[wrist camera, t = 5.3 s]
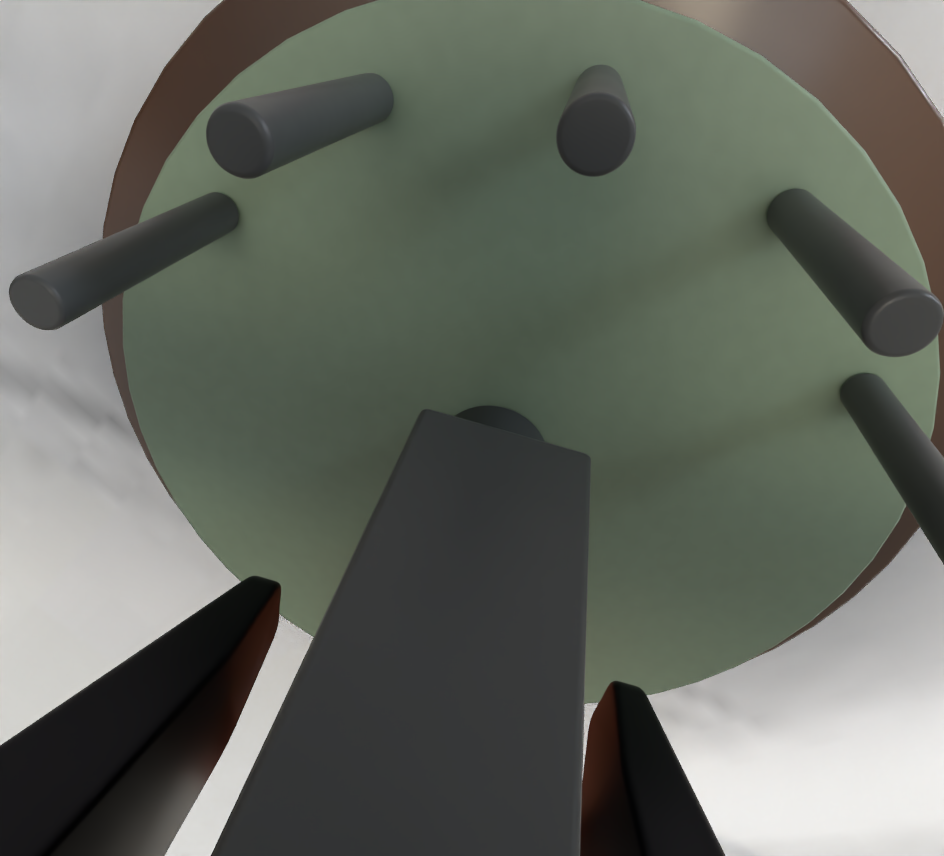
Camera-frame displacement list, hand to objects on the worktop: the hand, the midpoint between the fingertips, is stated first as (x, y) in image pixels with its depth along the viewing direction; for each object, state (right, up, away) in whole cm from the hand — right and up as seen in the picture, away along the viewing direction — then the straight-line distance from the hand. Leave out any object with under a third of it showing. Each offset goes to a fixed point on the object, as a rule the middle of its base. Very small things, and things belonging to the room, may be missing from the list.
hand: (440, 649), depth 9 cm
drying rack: (+1, +3, +5) cm, 6 cm away
